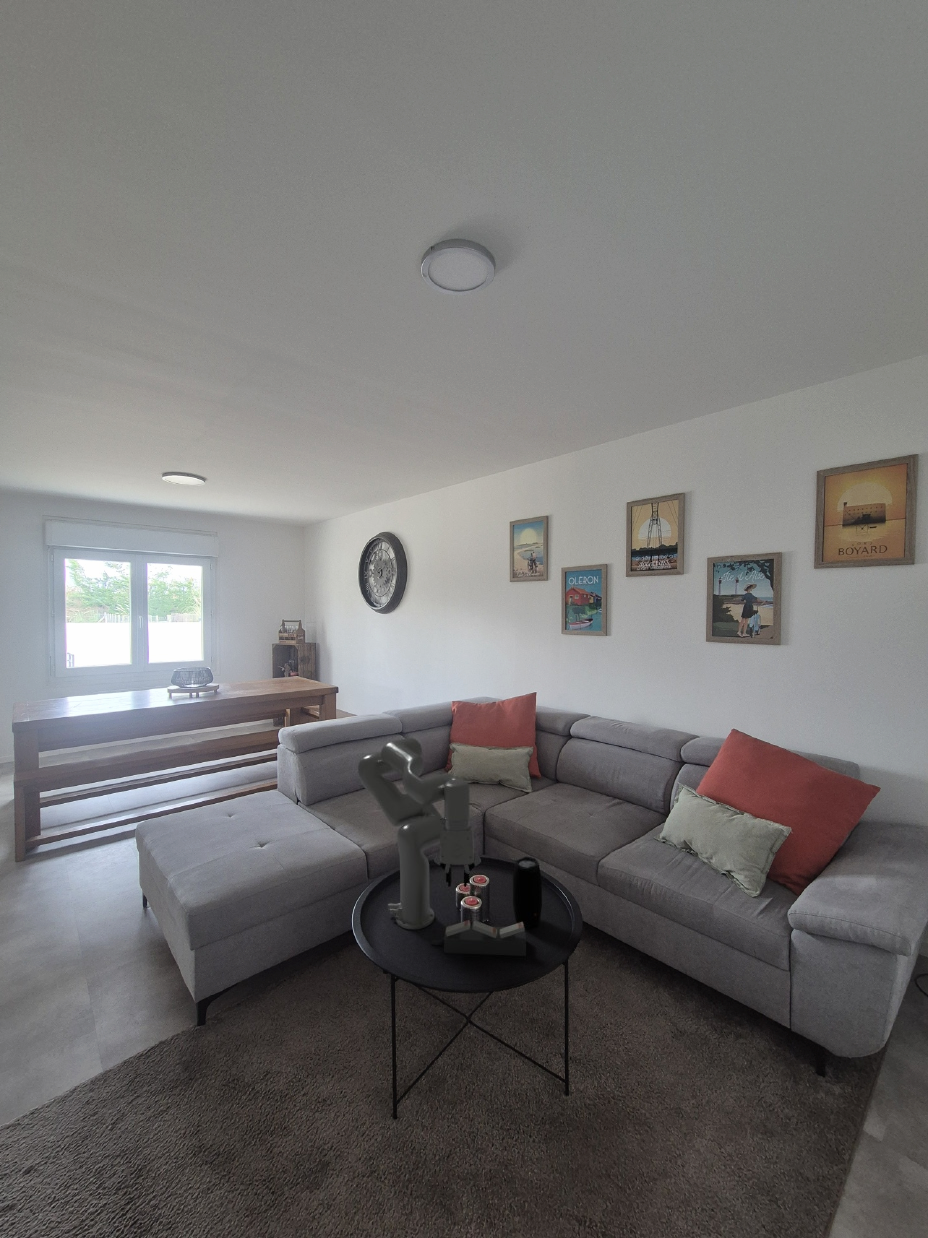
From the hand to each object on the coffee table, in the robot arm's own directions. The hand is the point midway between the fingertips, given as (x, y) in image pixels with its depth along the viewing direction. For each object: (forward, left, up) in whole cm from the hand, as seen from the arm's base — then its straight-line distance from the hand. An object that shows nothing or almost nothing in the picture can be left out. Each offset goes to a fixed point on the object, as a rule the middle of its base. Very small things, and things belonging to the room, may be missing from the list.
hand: (457, 884), depth 149 cm
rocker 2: (+8, 0, -13) cm, 15 cm away
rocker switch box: (+6, +2, -19) cm, 20 cm away
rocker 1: (0, 0, -13) cm, 13 cm away
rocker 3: (+16, 0, -13) cm, 21 cm away
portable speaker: (+21, +15, -20) cm, 32 cm away
